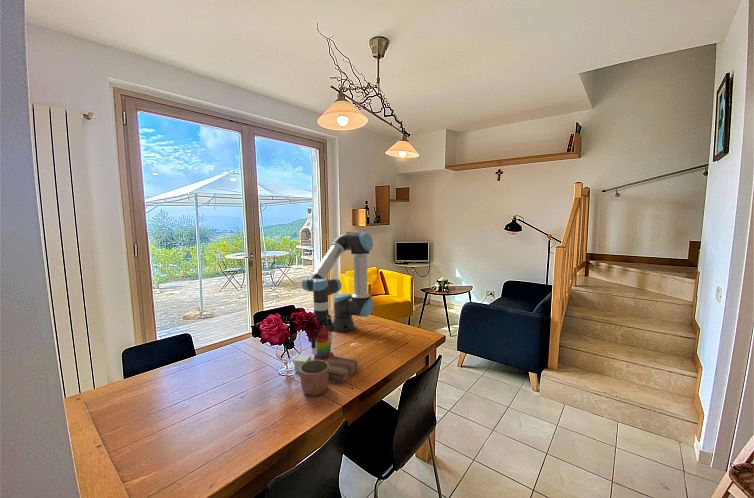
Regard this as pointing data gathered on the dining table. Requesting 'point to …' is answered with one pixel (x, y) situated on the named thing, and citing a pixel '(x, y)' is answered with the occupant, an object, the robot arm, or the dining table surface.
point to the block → (301, 361)
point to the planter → (314, 377)
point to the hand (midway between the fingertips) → (322, 348)
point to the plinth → (341, 369)
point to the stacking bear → (323, 345)
